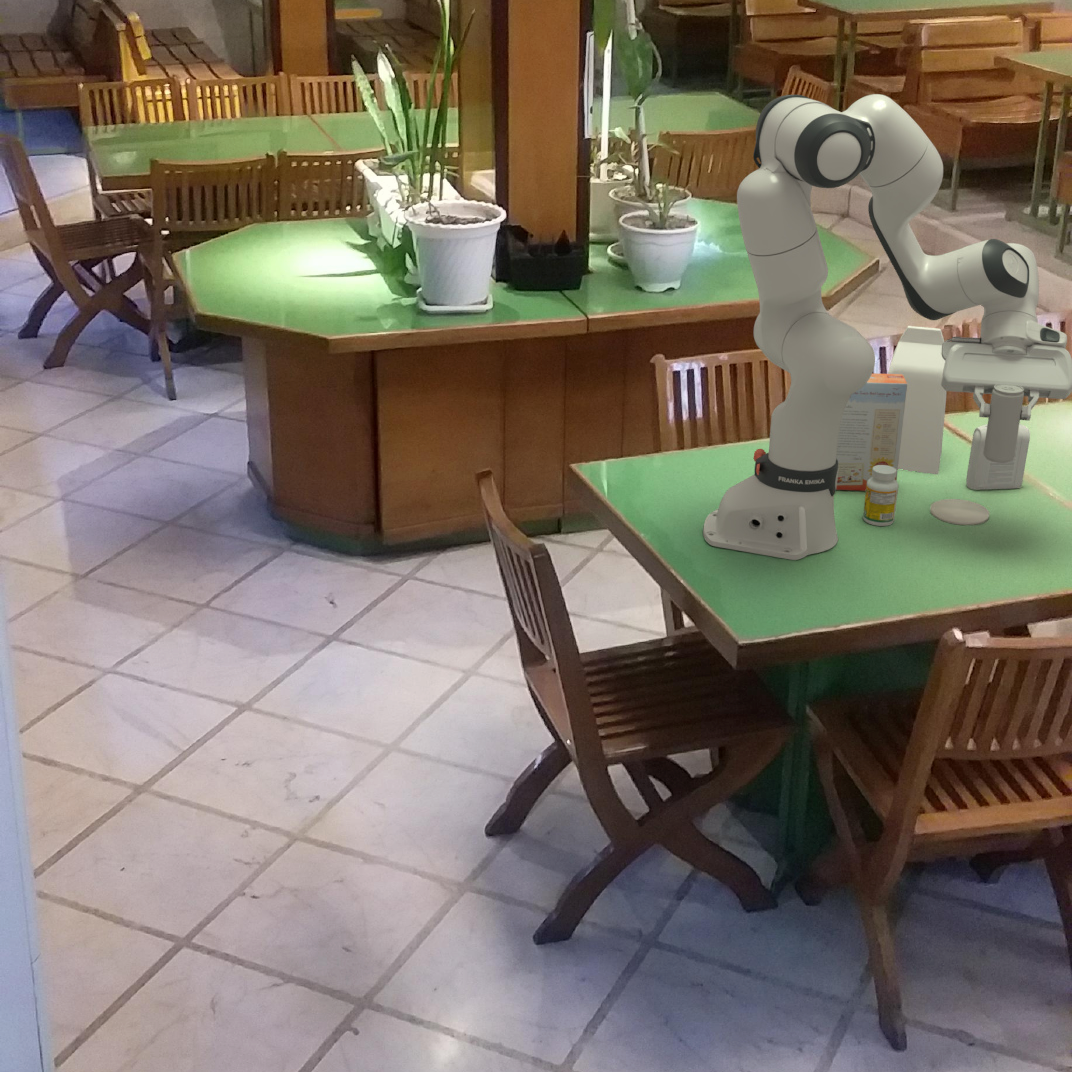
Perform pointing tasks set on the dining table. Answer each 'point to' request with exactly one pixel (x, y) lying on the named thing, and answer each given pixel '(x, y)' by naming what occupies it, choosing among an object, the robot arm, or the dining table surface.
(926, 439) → the milk
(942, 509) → the white domed disc
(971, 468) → the photo printer
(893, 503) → the supplement bottle
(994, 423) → the beverage can
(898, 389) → the cracker box
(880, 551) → the dining table surface
